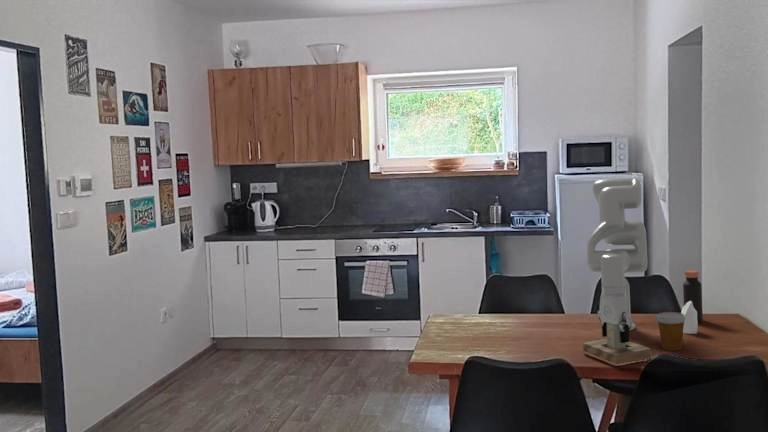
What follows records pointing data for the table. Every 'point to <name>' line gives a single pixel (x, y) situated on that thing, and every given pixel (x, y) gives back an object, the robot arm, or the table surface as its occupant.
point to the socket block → (617, 351)
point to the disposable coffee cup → (671, 330)
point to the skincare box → (614, 337)
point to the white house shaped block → (689, 318)
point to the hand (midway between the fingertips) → (615, 339)
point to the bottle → (693, 292)
